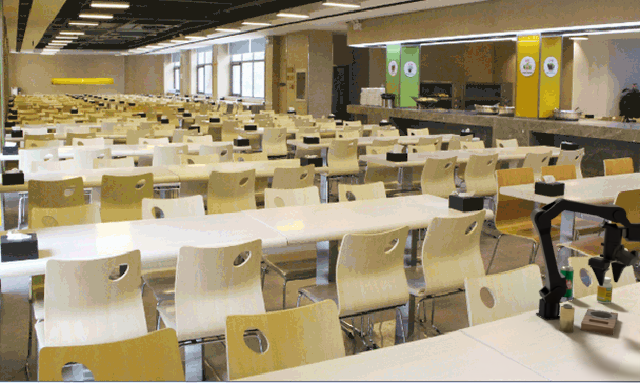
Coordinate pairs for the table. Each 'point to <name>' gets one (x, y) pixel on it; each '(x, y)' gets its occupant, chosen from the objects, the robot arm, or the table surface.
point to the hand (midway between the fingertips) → (608, 284)
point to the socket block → (599, 321)
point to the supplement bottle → (605, 291)
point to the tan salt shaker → (567, 318)
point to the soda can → (568, 279)
